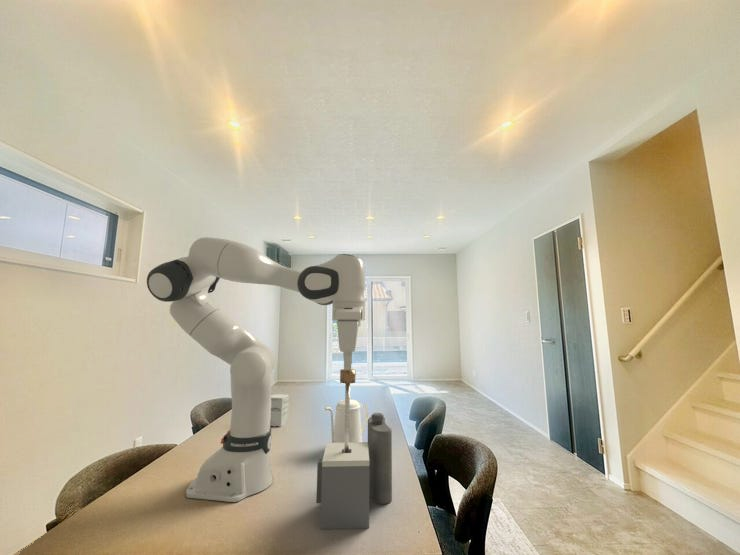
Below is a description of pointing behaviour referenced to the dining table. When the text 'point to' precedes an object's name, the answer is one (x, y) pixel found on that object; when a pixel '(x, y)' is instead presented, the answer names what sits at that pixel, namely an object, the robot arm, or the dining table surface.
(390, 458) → the flask
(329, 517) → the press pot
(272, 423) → the supplement box
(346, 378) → the plunger
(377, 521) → the dining table surface
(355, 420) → the coffeepot
